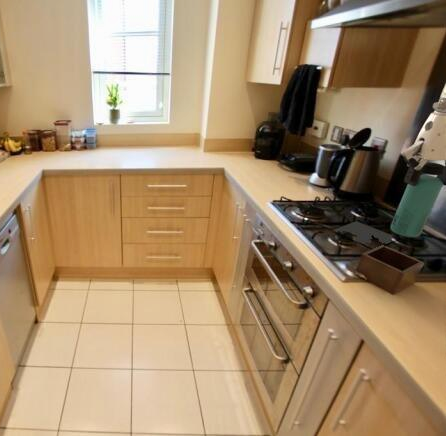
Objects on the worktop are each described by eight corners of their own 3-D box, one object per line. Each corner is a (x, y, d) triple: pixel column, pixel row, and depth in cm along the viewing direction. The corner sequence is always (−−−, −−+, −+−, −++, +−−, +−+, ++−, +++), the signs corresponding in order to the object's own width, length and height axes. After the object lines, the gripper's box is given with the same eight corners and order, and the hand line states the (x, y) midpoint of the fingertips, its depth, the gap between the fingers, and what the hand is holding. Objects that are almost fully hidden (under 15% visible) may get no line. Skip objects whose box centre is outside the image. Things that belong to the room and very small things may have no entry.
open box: (413, 283, 87) (424, 262, 84) (393, 294, 83) (404, 273, 80) (374, 264, 95) (382, 244, 92) (353, 273, 91) (362, 253, 88)
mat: (398, 239, 107) (399, 238, 106) (375, 250, 101) (375, 249, 101) (355, 222, 118) (356, 221, 118) (332, 231, 112) (332, 230, 112)
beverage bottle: (424, 243, 81) (461, 168, 71) (395, 241, 82) (428, 168, 72) (408, 230, 86) (440, 159, 77) (381, 229, 87) (409, 159, 78)
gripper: (431, 111, 66) (399, 190, 74) (520, 108, 65) (477, 189, 73) (405, 105, 73) (377, 178, 81) (485, 103, 71) (449, 177, 80)
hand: (425, 183), depth 77 cm, fingers closed on beverage bottle, 6 cm apart
